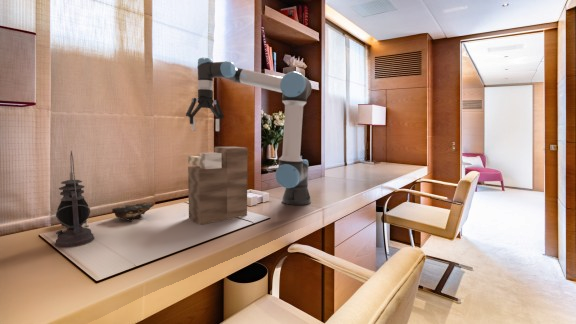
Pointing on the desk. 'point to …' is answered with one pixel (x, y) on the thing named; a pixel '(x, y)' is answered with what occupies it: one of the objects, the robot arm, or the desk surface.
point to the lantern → (73, 214)
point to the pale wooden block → (206, 160)
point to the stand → (219, 188)
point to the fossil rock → (132, 211)
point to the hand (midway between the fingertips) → (205, 131)
